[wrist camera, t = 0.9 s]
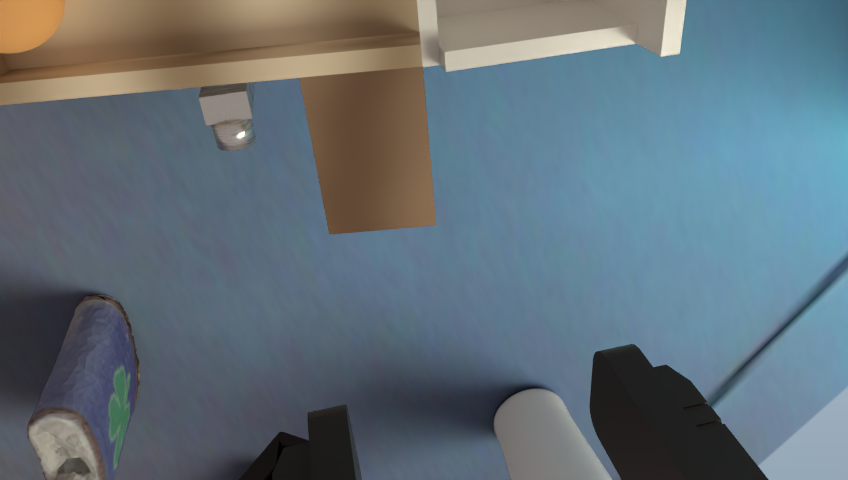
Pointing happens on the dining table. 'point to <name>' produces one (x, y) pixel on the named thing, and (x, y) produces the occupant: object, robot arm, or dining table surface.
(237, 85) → the stand
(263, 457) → the black blocky device
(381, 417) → the dining table surface
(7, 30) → the ball
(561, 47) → the white open bin
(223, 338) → the dining table surface
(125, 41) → the chute
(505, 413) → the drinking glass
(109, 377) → the flask
